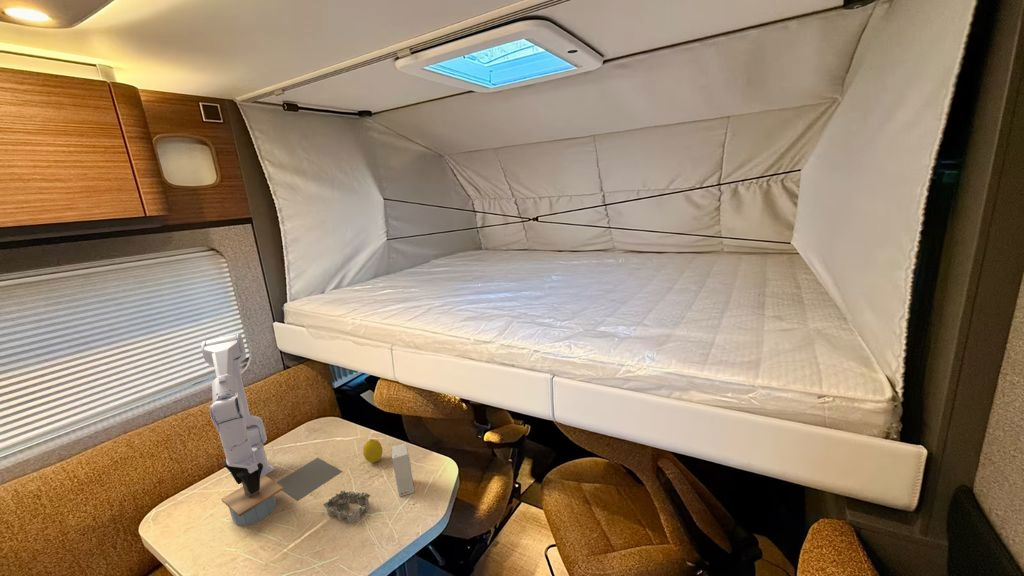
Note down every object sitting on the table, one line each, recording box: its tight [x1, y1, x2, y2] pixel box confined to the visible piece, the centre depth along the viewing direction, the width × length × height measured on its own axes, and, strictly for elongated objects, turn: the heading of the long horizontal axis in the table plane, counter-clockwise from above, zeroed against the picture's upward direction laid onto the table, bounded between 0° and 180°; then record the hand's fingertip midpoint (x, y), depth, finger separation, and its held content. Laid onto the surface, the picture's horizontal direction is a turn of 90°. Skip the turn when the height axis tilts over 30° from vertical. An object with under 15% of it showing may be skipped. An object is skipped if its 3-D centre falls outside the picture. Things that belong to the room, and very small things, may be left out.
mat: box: [275, 457, 343, 502], centre depth 125 cm, size 14×14×1 cm
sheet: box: [220, 475, 283, 516], centre depth 112 cm, size 11×11×5 cm
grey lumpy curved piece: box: [322, 490, 371, 524], centre depth 110 cm, size 11×8×4 cm
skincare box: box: [391, 443, 415, 497], centre depth 116 cm, size 6×4×12 cm
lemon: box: [363, 438, 383, 464], centre depth 129 cm, size 6×6×8 cm
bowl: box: [228, 494, 277, 526], centre depth 113 cm, size 10×10×5 cm
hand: (248, 486), depth 112 cm, fingers open, 7 cm apart
